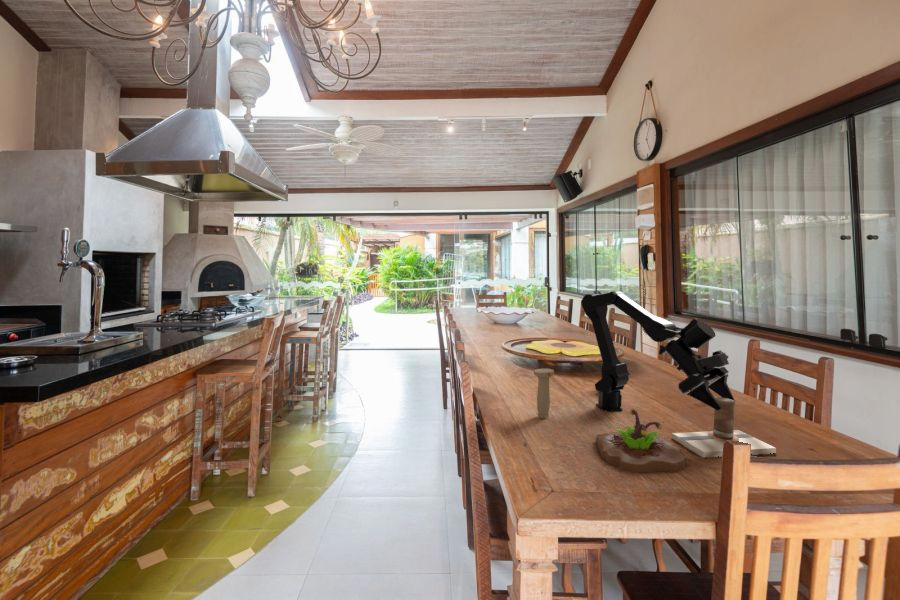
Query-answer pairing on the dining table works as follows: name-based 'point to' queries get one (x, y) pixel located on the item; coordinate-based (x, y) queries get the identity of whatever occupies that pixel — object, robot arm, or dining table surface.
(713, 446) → the board
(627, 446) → the plant
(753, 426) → the dining table surface
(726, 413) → the grey-brown upright cylinder
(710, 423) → the dining table surface
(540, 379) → the handle
